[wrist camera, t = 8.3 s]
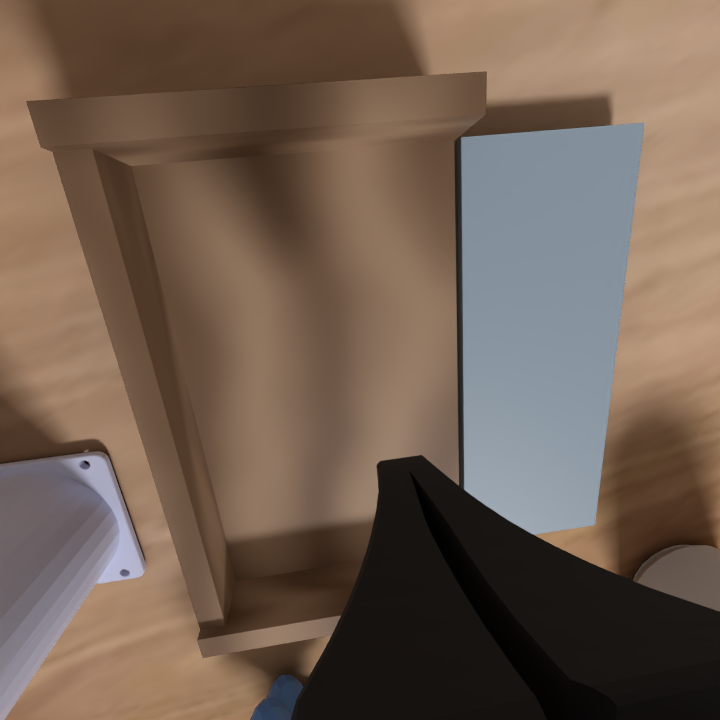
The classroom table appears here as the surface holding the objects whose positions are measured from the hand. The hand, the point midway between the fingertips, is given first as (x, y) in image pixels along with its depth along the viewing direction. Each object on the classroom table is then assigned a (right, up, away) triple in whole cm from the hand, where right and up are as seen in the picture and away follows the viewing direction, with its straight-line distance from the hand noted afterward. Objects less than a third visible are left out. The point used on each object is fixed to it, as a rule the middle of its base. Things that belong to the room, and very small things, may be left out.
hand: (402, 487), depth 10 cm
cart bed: (-4, +2, +8) cm, 9 cm away
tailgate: (+4, +3, +8) cm, 9 cm away
